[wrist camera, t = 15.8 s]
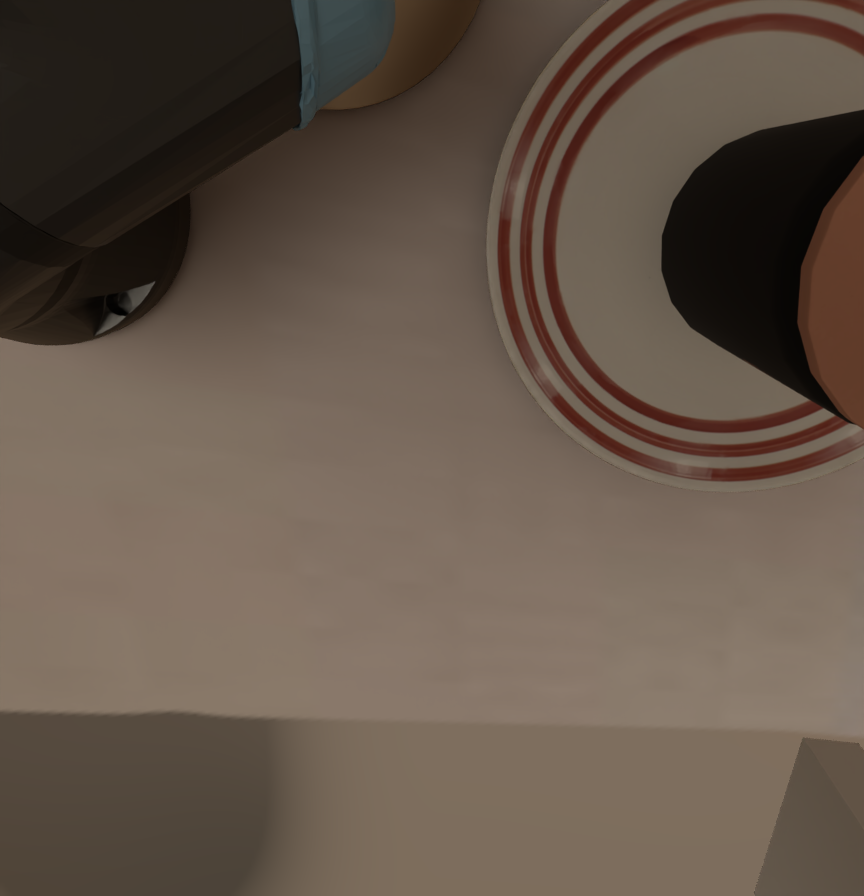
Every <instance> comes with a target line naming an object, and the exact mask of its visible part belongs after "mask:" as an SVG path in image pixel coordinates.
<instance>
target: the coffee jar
mask: <svg viewBox="0 0 864 896" xmlns="http://www.w3.org/2000/svg"><path fill="white" fill-rule="evenodd" d="M661 272H662V275H663V278H664V281H665V284H666V287H667V291H668V294H669V297H670V300H671V303H672V304H673V305H674V307H675V308H676V309H677V311H678V312H679V313H680V315H681V316H682V317H683V319H684V320H685V321H686V323H687V324H688V325H689V326H690V328H692V329H693V330H695V331H696V332H698V333H699V334H701V335H702V336H704V337H705V338H707V339H709V340H710V341H712V342H713V343H715V344H716V345H718V346H719V347H721V348H723V349H725V350H726V351H728V352H730V353H731V354H733V355H735V356H736V357H738V358H740V359H741V360H743V361H745V362H746V363H748V364H750V365H752V366H753V367H755V368H757V369H758V370H760V371H762V372H763V373H765V374H767V375H768V376H770V377H772V378H773V379H775V380H777V381H779V382H780V383H782V384H784V385H785V386H787V387H789V388H790V389H792V390H794V391H795V392H797V393H799V394H800V395H802V396H804V397H806V398H807V399H809V400H811V401H812V402H814V403H816V404H817V405H819V406H821V407H822V408H824V409H826V410H827V411H829V412H831V413H832V414H834V415H836V416H838V417H839V418H841V419H843V420H844V421H846V422H848V423H850V424H854V425H857V426H859V427H860V428H862V429H863V430H864V110H858V111H853V112H848V113H843V114H838V115H833V116H828V117H823V118H818V119H813V120H808V121H803V122H798V123H793V124H788V125H782V126H777V127H772V128H767V129H762V130H758V131H756V132H754V133H751V134H749V135H746V136H744V137H742V138H739V139H737V140H735V141H732V142H730V143H727V144H725V145H723V146H722V147H721V148H720V149H719V150H717V151H716V152H715V153H714V154H713V155H711V156H710V157H709V158H708V159H706V160H705V161H704V162H703V163H702V164H700V165H699V166H698V167H697V168H696V169H694V171H693V172H692V174H691V175H690V177H689V178H688V180H687V181H686V183H685V184H684V186H683V187H682V188H681V190H680V191H679V193H678V194H677V196H676V197H675V199H674V200H673V203H672V206H671V209H670V212H669V215H668V218H667V221H666V224H665V227H664V230H663V233H662V250H661Z"/></svg>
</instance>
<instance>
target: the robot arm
mask: <svg viewBox="0 0 864 896" xmlns="http://www.w3.org/2000/svg"><path fill="white" fill-rule="evenodd" d="M394 24H395V0H0V337H1V338H5V339H10V340H14V341H18V342H23V343H28V344H35V345H68V344H76V343H82V342H86V341H90V340H93V339H96V338H99V337H102V336H104V335H107V334H109V333H111V332H114V331H116V330H119V329H121V328H123V327H125V326H127V325H129V324H131V323H132V322H134V321H136V320H137V319H139V318H140V317H141V316H143V315H144V314H145V313H147V312H148V311H149V310H150V309H151V308H152V307H153V306H154V305H155V304H156V303H157V302H158V301H159V300H160V299H161V298H162V296H163V295H164V294H165V293H166V291H167V290H168V288H169V287H170V285H171V284H172V282H173V280H174V278H175V276H176V275H177V272H178V270H179V268H180V266H181V263H182V260H183V258H184V254H185V251H186V247H187V242H188V237H189V229H190V198H189V192H191V191H192V190H194V189H196V188H197V187H199V186H200V185H202V184H204V183H205V182H207V181H208V180H210V179H212V178H213V177H215V176H216V175H218V174H220V173H221V172H223V171H224V170H226V169H228V168H229V167H231V166H232V165H234V164H236V163H237V162H239V161H240V160H242V159H243V158H245V157H247V156H248V155H250V154H251V153H253V152H255V151H256V150H258V149H259V148H261V147H263V146H264V145H266V144H267V143H269V142H271V141H272V140H274V139H275V138H277V137H279V136H280V135H282V134H283V133H285V132H287V131H288V130H290V129H291V128H292V129H293V130H301V129H303V128H305V127H306V126H307V124H308V123H309V122H310V121H311V120H312V119H313V118H314V116H315V113H316V111H318V110H319V109H321V108H322V107H323V106H325V105H326V104H328V103H329V102H331V101H332V100H333V99H335V98H336V97H338V96H339V95H341V94H342V93H343V92H345V91H346V90H348V89H349V88H351V87H352V86H353V85H355V84H356V83H358V82H359V81H361V80H362V79H363V78H365V77H366V76H368V75H369V74H370V73H371V72H373V71H374V70H375V68H376V67H377V66H378V65H379V64H380V63H381V61H382V60H383V58H384V57H385V54H386V51H387V49H388V46H389V43H390V41H391V38H392V35H393V31H394ZM754 894H755V896H864V750H863V749H862V747H861V746H860V745H859V743H850V742H840V741H831V740H821V739H811V738H803V739H802V742H801V746H800V748H799V752H798V755H797V758H796V761H795V764H794V767H793V771H792V774H791V777H790V780H789V783H788V786H787V790H786V793H785V796H784V799H783V802H782V806H781V809H780V812H779V815H778V818H777V821H776V825H775V828H774V831H773V835H772V837H771V841H770V844H769V847H768V850H767V853H766V857H765V859H764V863H763V866H762V869H761V872H760V875H759V879H758V882H757V885H756V888H755V891H754Z"/></svg>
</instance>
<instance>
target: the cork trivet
mask: <svg viewBox="0 0 864 896" xmlns="http://www.w3.org/2000/svg"><path fill="white" fill-rule="evenodd" d="M480 1H481V0H395V24H394V31H393V35H392V38H391V41H390V43H389V46H388V49H387V51H386V54H385V57H384V58H383V60H382V61H381V63H380V64H379V65H378V66H377V67H376V68H375V70H374V71H373V72H371V73H370V74H369V75H368V76H366V77H365V78H363V79H362V80H361V81H359V82H358V83H356V84H355V85H353V86H352V87H351V88H349V89H348V90H346V91H345V92H343V93H342V94H341V95H339V96H338V97H336V98H335V99H333V100H332V101H331V102H329V103H328V104H326V105H325V106H323V107H322V108H321V109H326V110H345V109H355V108H361V107H365V106H369V105H374V104H378V103H380V102H383V101H385V100H388V99H390V98H393V97H395V96H398V95H399V94H401V93H403V92H405V91H406V90H408V89H410V88H412V87H413V86H415V85H416V84H418V83H419V82H420V81H422V80H423V79H424V78H426V77H427V76H428V75H429V74H431V73H432V72H433V71H434V70H435V69H436V68H437V67H438V66H439V65H440V64H441V63H442V62H443V61H444V60H445V59H446V58H447V57H448V55H449V54H450V53H451V52H452V50H453V49H454V48H455V46H456V45H457V44H458V42H459V41H460V40H461V38H462V36H463V35H464V33H465V31H466V30H467V28H468V26H469V24H470V23H471V21H472V19H473V17H474V14H475V12H476V10H477V8H478V5H479V3H480Z"/></svg>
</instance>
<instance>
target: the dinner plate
mask: <svg viewBox="0 0 864 896" xmlns="http://www.w3.org/2000/svg"><path fill="white" fill-rule="evenodd" d="M858 110H864V0H608V1H607V2H606V3H605V4H604V5H602V6H601V7H600V8H599V9H598V10H597V11H595V12H594V13H593V14H592V15H591V16H590V17H589V18H588V19H587V20H586V21H585V22H584V23H583V24H582V25H581V26H580V27H579V28H578V29H577V30H576V31H575V32H574V33H573V34H572V35H571V36H570V37H569V38H568V39H567V41H566V42H565V43H564V44H563V45H562V46H561V47H560V49H559V50H558V51H557V52H556V54H555V55H554V56H553V57H552V59H551V60H550V61H549V63H548V64H547V66H546V67H545V68H544V70H543V71H542V73H541V74H540V75H539V77H538V78H537V80H536V81H535V83H534V85H533V86H532V88H531V90H530V92H529V93H528V95H527V97H526V99H525V101H524V103H523V105H522V107H521V109H520V111H519V113H518V115H517V117H516V119H515V121H514V123H513V125H512V127H511V130H510V132H509V135H508V137H507V140H506V142H505V145H504V148H503V151H502V154H501V157H500V160H499V164H498V167H497V171H496V174H495V178H494V182H493V188H492V193H491V198H490V203H489V211H488V220H487V232H486V262H487V278H488V286H489V293H490V298H491V303H492V308H493V312H494V316H495V319H496V322H497V326H498V329H499V332H500V335H501V337H502V340H503V343H504V345H505V348H506V350H507V353H508V355H509V357H510V359H511V362H512V364H513V366H514V368H515V370H516V371H517V373H518V375H519V376H520V378H521V380H522V381H523V383H524V385H525V386H526V388H527V390H528V391H529V393H530V394H531V395H532V397H533V398H534V399H535V401H536V402H537V403H538V405H539V406H540V407H541V408H542V409H543V411H544V412H545V413H546V414H547V415H548V416H549V417H550V418H551V420H552V421H553V422H554V423H555V424H556V425H557V426H558V427H560V428H561V429H562V430H563V431H564V432H565V433H566V434H567V435H568V436H569V437H571V438H572V439H573V440H574V441H575V442H576V443H578V444H580V445H581V446H582V447H583V448H585V449H586V450H588V451H589V452H591V453H592V454H594V455H596V456H597V457H599V458H601V459H602V460H604V461H606V462H607V463H609V464H611V465H613V466H615V467H617V468H619V469H621V470H623V471H626V472H628V473H631V474H633V475H635V476H638V477H641V478H644V479H647V480H650V481H653V482H657V483H660V484H664V485H668V486H673V487H677V488H682V489H689V490H696V491H706V492H748V491H760V490H767V489H774V488H779V487H784V486H789V485H794V484H798V483H801V482H805V481H808V480H812V479H815V478H818V477H821V476H823V475H826V474H829V473H832V472H834V471H837V470H839V469H842V468H844V467H846V466H848V465H851V464H853V463H855V462H857V461H859V460H861V459H862V458H864V430H863V429H862V428H860V427H859V426H857V425H854V424H850V423H848V422H846V421H844V420H843V419H841V418H839V417H838V416H836V415H834V414H832V413H831V412H829V411H827V410H826V409H824V408H822V407H821V406H819V405H817V404H816V403H814V402H812V401H811V400H809V399H807V398H806V397H804V396H802V395H800V394H799V393H797V392H795V391H794V390H792V389H790V388H789V387H787V386H785V385H784V384H782V383H780V382H779V381H777V380H775V379H773V378H772V377H770V376H768V375H767V374H765V373H763V372H762V371H760V370H758V369H757V368H755V367H753V366H752V365H750V364H748V363H746V362H745V361H743V360H741V359H740V358H738V357H736V356H735V355H733V354H731V353H730V352H728V351H726V350H725V349H723V348H721V347H719V346H718V345H716V344H715V343H713V342H712V341H710V340H709V339H707V338H705V337H704V336H702V335H701V334H699V333H698V332H696V331H695V330H693V329H692V328H690V326H689V325H688V324H687V323H686V321H685V320H684V319H683V317H682V316H681V315H680V313H679V312H678V311H677V309H676V308H675V307H674V305H673V304H672V303H671V300H670V297H669V294H668V291H667V287H666V284H665V281H664V278H663V275H662V272H661V250H662V233H663V230H664V227H665V224H666V221H667V218H668V215H669V212H670V209H671V206H672V203H673V200H674V199H675V197H676V196H677V194H678V193H679V191H680V190H681V188H682V187H683V186H684V184H685V183H686V181H687V180H688V178H689V177H690V175H691V174H692V172H693V171H694V169H696V168H697V167H698V166H699V165H700V164H702V163H703V162H704V161H705V160H706V159H708V158H709V157H710V156H711V155H713V154H714V153H715V152H716V151H717V150H719V149H720V148H721V147H722V146H723V145H725V144H727V143H730V142H732V141H735V140H737V139H739V138H742V137H744V136H746V135H749V134H751V133H754V132H756V131H758V130H762V129H767V128H772V127H777V126H782V125H788V124H793V123H798V122H803V121H808V120H813V119H818V118H823V117H828V116H833V115H838V114H843V113H848V112H853V111H858Z"/></svg>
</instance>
